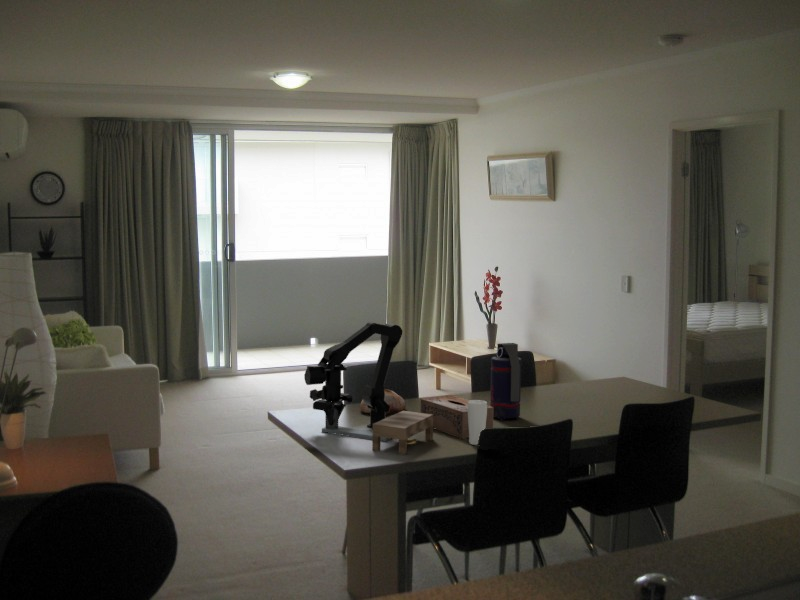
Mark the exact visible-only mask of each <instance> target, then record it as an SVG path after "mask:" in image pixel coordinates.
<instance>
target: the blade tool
mask: <svg viewBox="0 0 800 600" xmlns="http://www.w3.org/2000/svg"><path fill="white" fill-rule="evenodd" d="M324 432H328V433H327V434H330V433H336V434H335V435H337V434H343V435H342V436H344V435H349V436H348V437H351V436H354V437H353V438H357V437H359V439H364V438H366V439H365V440H371V439H373V430H367V429H360V428H353V427H347V426H339V419H338V410H337V411H336V414H335V418H334V422H333V425H332V426H330V425H329V423H328V420H327V416H326V415H325V426H324V427H322V428H321V433H324ZM389 439H390V440H392V439H391V438H385V437H381V439H380V442H385V441H386V442H387V440H388V441H390V440H389Z"/></svg>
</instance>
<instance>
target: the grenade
mask: <svg viewBox="0 0 800 600" xmlns="http://www.w3.org/2000/svg"><path fill="white" fill-rule="evenodd" d="M518 349H519V345H518V343H516V342H507V343H505V342H504V343H497V350H496V351H497V352H496V354H495V356H492V357H491V360H490V361H491V362H490V365H491V368H490V394H489V395H490V397H489V398H490V399H489V400H490V401H489V404H490V405H489V406H491V407H494V412H493V418H498V421H505V419H513V418H514V419H515V420H519V418H520V416H521V391H522V390H521V388H522V387H521V386H522V357H520V356H519V354H518V353H519V350H518Z"/></svg>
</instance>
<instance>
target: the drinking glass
mask: <svg viewBox="0 0 800 600" xmlns="http://www.w3.org/2000/svg"><path fill="white" fill-rule="evenodd" d="M469 400H470V399H469ZM487 406H488V402H487V401H486V400H483V399H471V400H470V401H468V427H469V437H468V443H469V445H471V446H478V445H477V444H478V440H479V436H480V432H481V431H482V430H484V429H485V427H486V418H487Z"/></svg>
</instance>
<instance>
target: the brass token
mask: <svg viewBox="0 0 800 600" xmlns="http://www.w3.org/2000/svg"><path fill="white" fill-rule="evenodd" d="M414 443H415V444H417V439H416V438H414V437H410V438H408V439H407V444H411V445H415V444H414Z"/></svg>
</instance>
